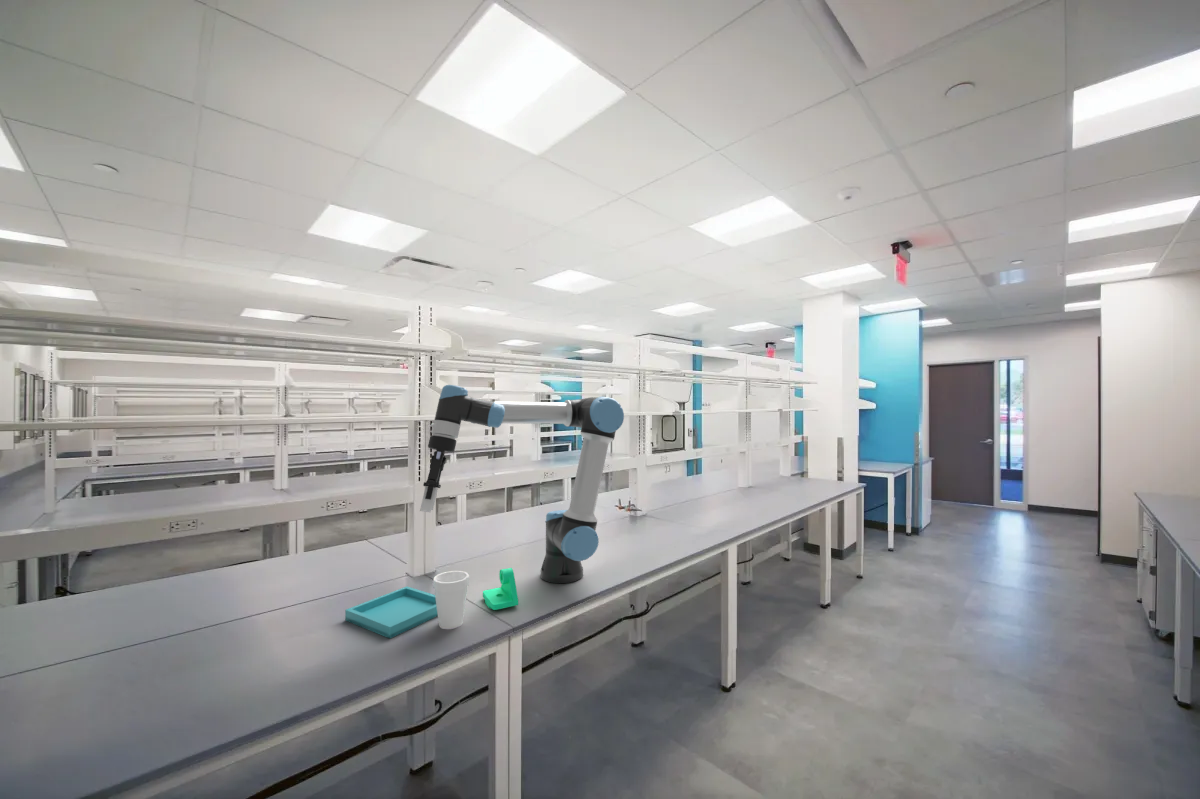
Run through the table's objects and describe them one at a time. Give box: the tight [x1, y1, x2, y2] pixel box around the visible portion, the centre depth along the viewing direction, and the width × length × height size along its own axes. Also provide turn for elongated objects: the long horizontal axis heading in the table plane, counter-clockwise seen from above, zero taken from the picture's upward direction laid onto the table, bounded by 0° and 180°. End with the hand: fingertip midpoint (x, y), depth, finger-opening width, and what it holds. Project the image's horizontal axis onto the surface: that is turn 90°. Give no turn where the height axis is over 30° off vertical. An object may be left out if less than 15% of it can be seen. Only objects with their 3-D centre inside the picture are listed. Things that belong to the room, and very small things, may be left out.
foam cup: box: [432, 570, 470, 630], centre depth 130 cm, size 10×9×13 cm
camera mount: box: [482, 567, 519, 611], centre depth 143 cm, size 12×8×10 cm, turn 30°
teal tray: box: [344, 585, 438, 639], centre depth 135 cm, size 20×20×3 cm
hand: (426, 510), depth 132 cm, fingers open, 13 cm apart
